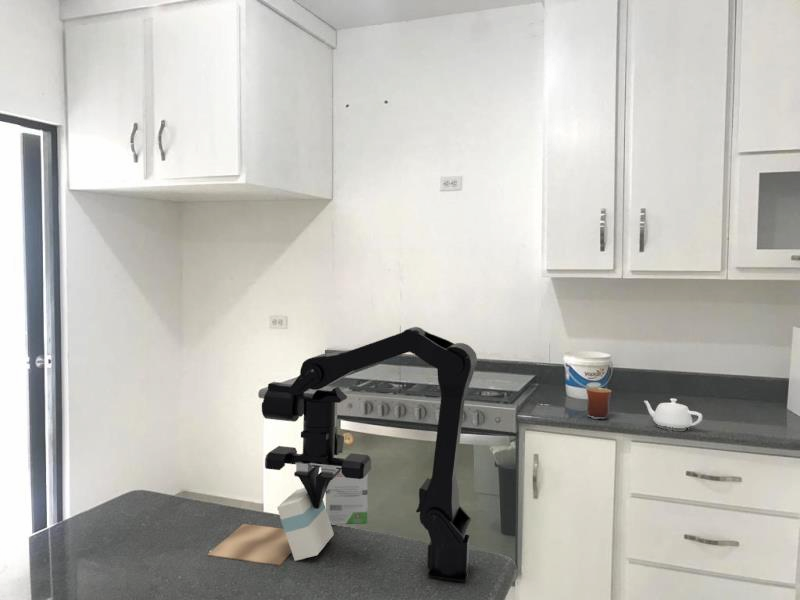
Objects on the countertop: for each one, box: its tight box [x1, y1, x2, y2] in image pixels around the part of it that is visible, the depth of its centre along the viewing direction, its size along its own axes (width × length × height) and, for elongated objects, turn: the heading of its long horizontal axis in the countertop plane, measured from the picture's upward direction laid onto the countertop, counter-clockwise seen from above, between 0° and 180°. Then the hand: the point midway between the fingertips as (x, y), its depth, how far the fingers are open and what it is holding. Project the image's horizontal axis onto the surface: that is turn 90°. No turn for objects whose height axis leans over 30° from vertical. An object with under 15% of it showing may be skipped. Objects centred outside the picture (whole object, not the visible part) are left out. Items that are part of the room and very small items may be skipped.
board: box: [206, 523, 292, 567], centre depth 118 cm, size 14×14×1 cm
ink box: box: [325, 472, 369, 526], centre depth 130 cm, size 9×5×12 cm, turn 96°
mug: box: [585, 387, 613, 417], centre depth 228 cm, size 12×9×10 cm
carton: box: [276, 487, 335, 562], centre depth 116 cm, size 5×9×10 cm, turn 167°
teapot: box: [643, 397, 703, 428], centre depth 215 cm, size 20×12×10 cm, turn 44°
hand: (317, 507), depth 115 cm, fingers closed
